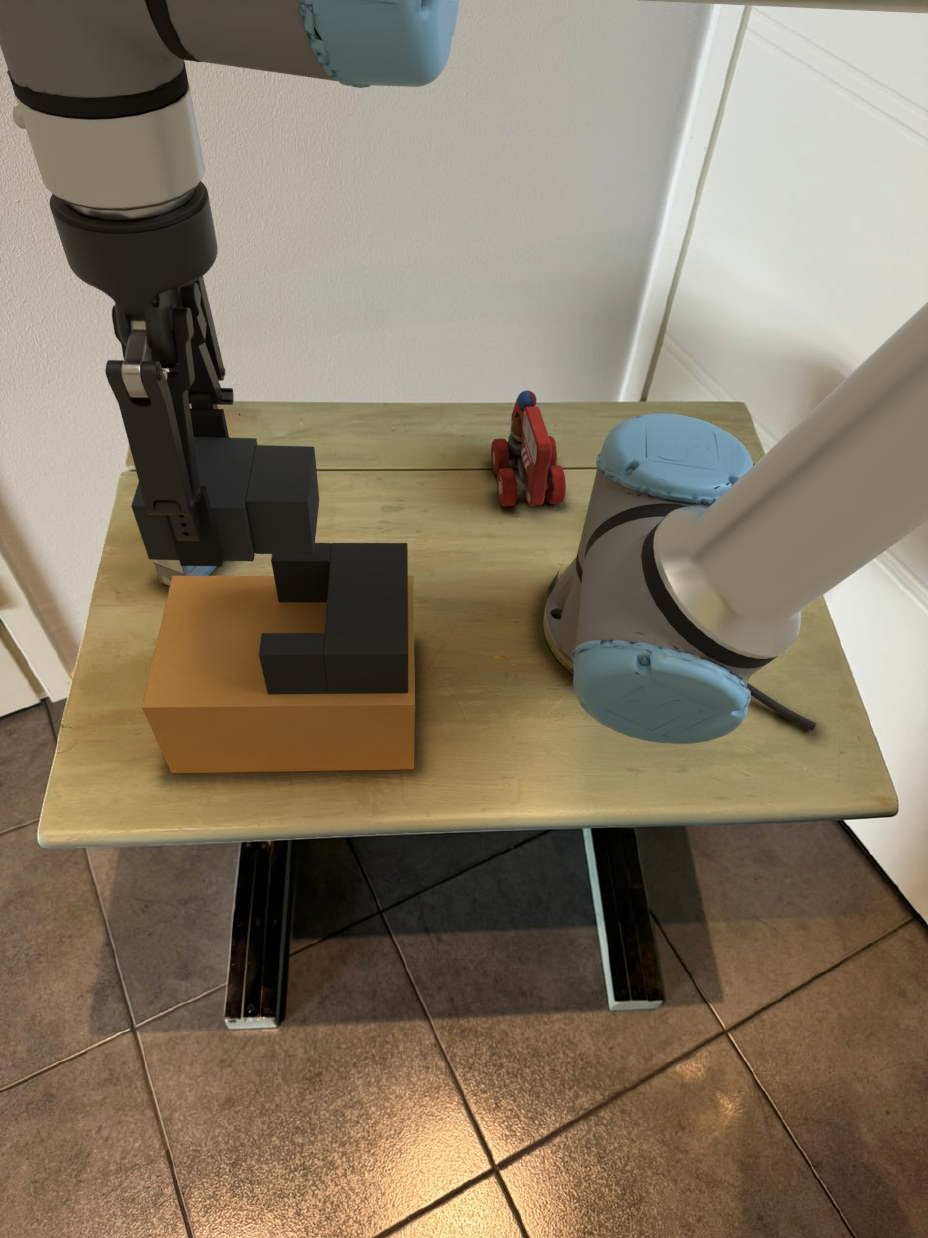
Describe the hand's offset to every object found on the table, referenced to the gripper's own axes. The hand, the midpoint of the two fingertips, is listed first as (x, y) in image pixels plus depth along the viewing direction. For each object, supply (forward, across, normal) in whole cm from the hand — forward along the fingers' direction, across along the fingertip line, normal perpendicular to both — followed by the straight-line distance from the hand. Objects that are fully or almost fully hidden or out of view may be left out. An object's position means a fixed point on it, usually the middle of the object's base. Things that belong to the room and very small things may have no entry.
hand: (210, 521), depth 59 cm
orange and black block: (+21, +2, +4) cm, 21 cm away
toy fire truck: (+21, -28, +27) cm, 44 cm away
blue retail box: (+21, -15, -7) cm, 27 cm away
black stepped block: (0, 0, +2) cm, 2 cm away
